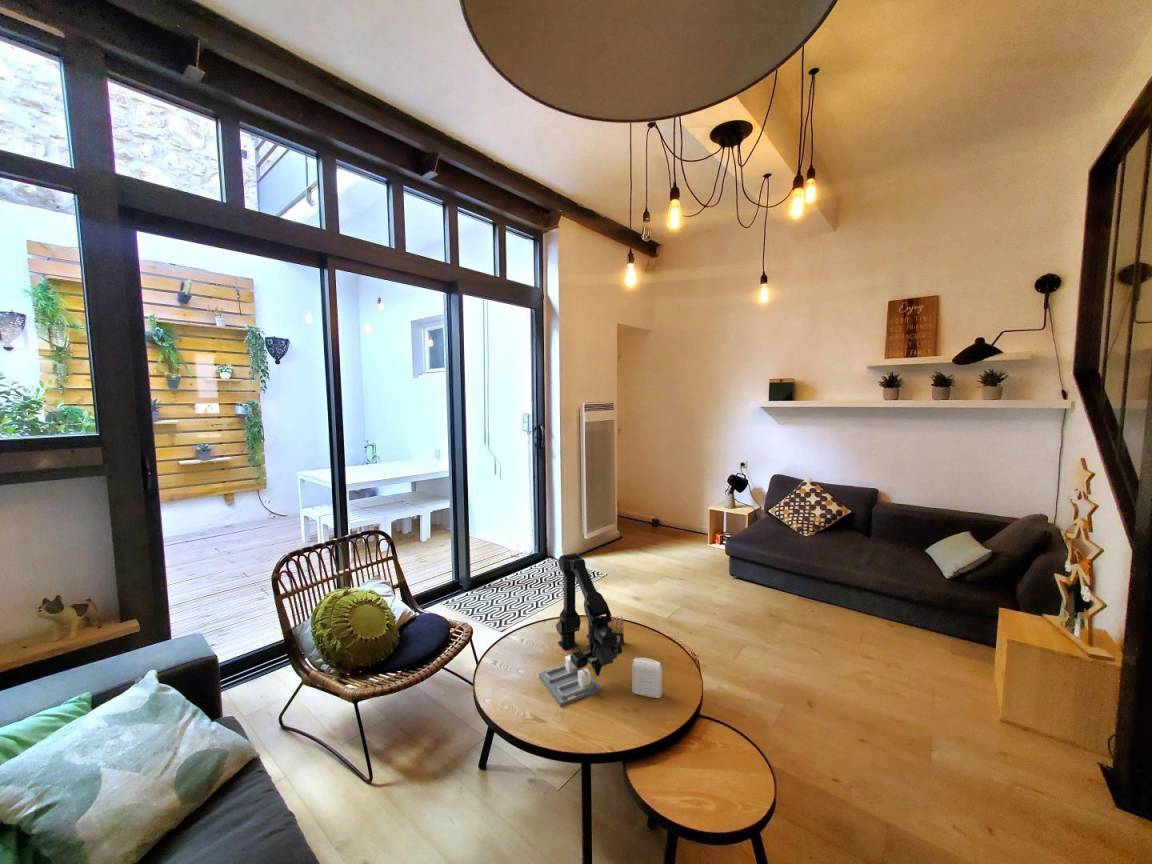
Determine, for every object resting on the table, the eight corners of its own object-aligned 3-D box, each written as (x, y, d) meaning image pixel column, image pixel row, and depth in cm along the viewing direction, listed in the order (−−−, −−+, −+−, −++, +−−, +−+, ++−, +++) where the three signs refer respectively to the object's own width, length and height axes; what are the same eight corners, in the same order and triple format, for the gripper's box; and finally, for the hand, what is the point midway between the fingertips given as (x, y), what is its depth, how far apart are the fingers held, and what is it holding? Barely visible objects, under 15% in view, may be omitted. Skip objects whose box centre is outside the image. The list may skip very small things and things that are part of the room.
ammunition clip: (598, 644, 184) (597, 616, 183) (598, 641, 186) (598, 614, 185) (624, 645, 183) (623, 617, 182) (624, 642, 185) (623, 615, 184)
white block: (577, 683, 157) (577, 669, 157) (586, 680, 159) (586, 666, 158) (582, 689, 155) (582, 674, 154) (591, 685, 156) (590, 671, 156)
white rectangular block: (565, 668, 166) (565, 655, 166) (573, 665, 168) (573, 652, 167) (569, 673, 163) (568, 659, 163) (577, 670, 165) (577, 656, 164)
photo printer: (662, 691, 154) (662, 658, 153) (661, 700, 150) (661, 665, 149) (633, 686, 157) (632, 653, 156) (631, 694, 153) (630, 660, 152)
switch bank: (538, 676, 164) (538, 671, 164) (576, 663, 171) (576, 658, 171) (560, 706, 148) (560, 700, 148) (601, 690, 155) (601, 684, 155)
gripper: (584, 653, 146) (585, 697, 148) (631, 637, 155) (631, 679, 156) (569, 637, 156) (570, 679, 157) (613, 623, 165) (614, 663, 166)
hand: (597, 675), depth 159 cm, fingers closed
